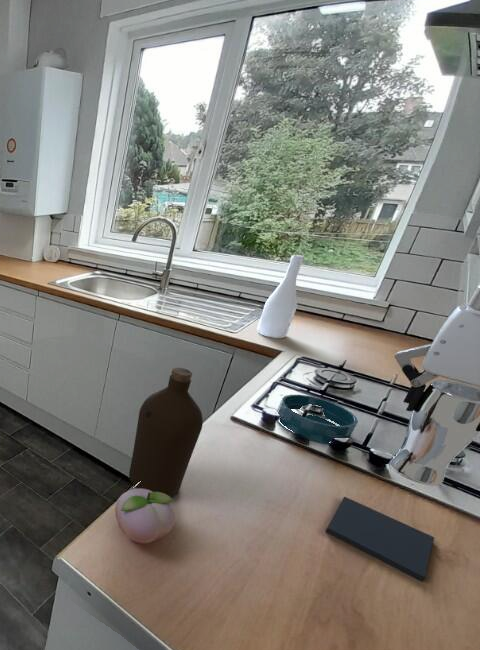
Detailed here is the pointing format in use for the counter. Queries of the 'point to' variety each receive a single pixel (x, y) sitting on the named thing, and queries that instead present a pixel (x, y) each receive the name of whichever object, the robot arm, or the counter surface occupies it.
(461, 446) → the beer glass
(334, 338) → the counter surface
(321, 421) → the pan
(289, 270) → the wine bottle
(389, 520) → the mat
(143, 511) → the decorative fruit
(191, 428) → the olive oil
